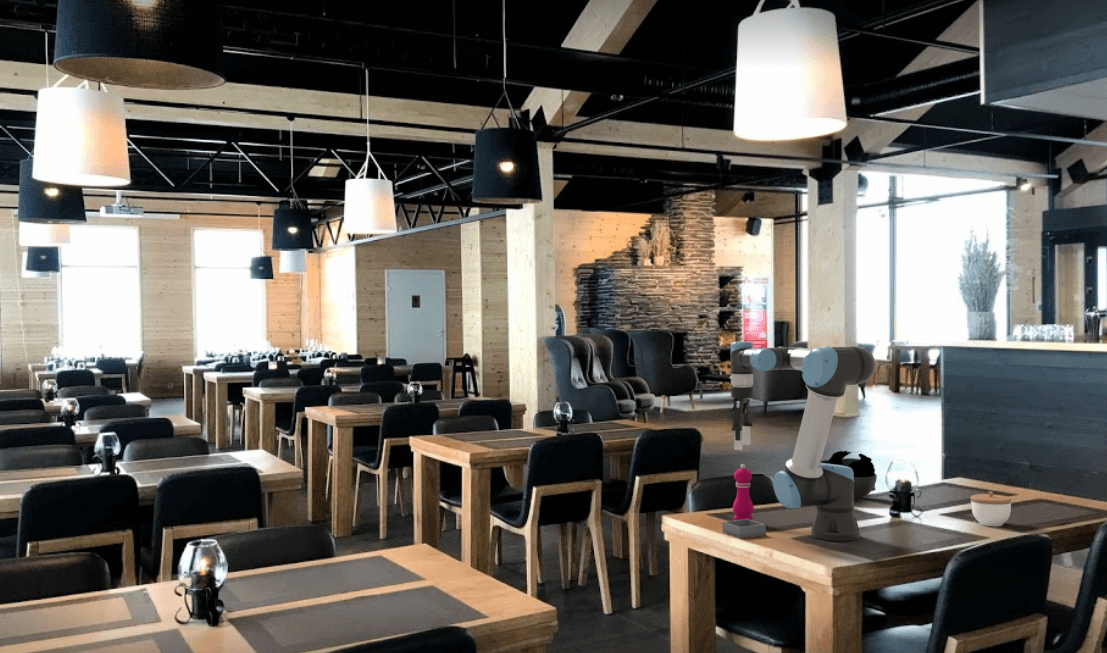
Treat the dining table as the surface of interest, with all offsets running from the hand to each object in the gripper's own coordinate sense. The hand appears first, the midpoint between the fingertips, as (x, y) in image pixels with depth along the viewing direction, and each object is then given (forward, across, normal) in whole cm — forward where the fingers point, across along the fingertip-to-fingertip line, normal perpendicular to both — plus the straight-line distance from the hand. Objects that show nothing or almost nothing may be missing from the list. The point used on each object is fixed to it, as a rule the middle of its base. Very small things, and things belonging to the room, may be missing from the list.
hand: (742, 447), depth 346 cm
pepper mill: (+26, 0, 0) cm, 26 cm away
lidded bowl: (+26, -22, +79) cm, 86 cm away
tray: (+26, +20, +4) cm, 33 cm away
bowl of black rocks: (+26, -54, +30) cm, 67 cm away
